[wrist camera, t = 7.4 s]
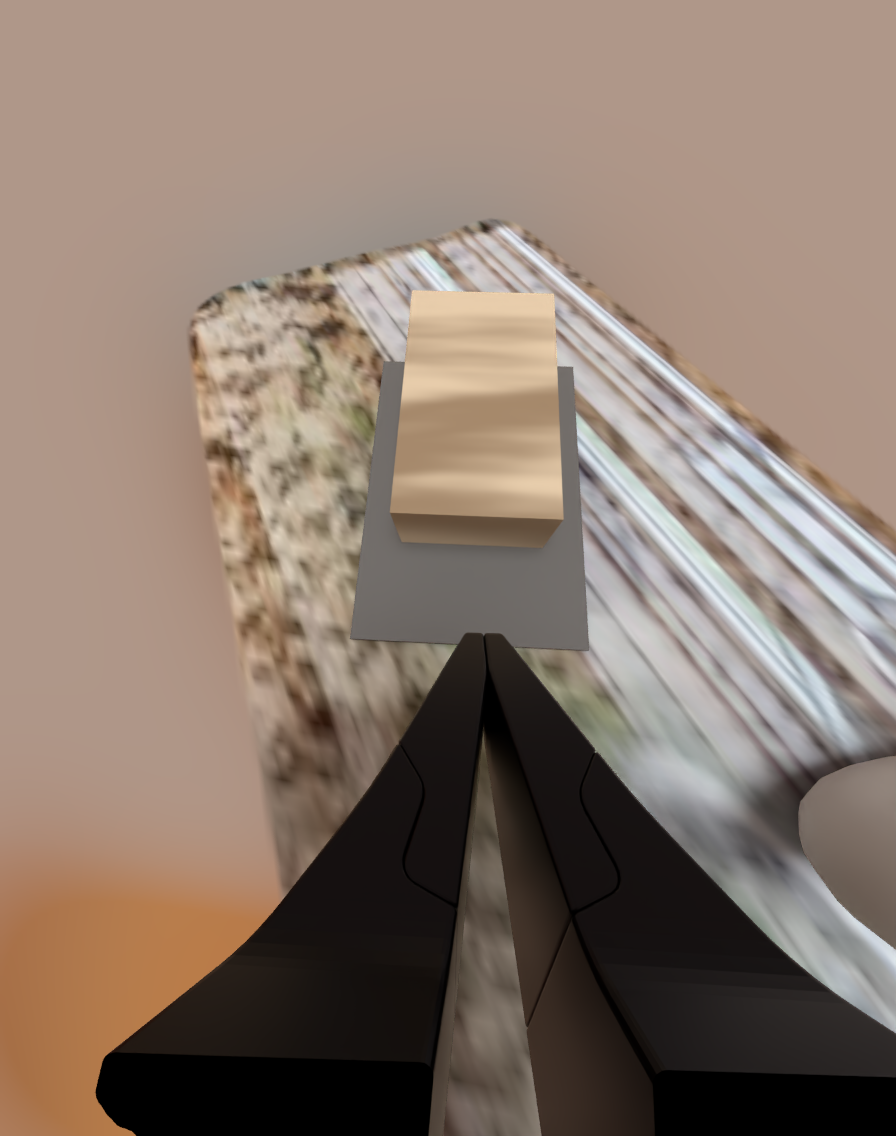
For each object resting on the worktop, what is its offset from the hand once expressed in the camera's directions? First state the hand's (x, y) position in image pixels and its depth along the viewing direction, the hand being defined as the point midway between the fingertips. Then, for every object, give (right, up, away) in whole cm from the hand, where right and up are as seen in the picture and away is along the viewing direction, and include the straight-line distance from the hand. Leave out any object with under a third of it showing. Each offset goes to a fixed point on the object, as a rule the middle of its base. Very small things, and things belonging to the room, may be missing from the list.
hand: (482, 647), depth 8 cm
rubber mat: (+1, +6, +11) cm, 12 cm away
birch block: (0, +3, +8) cm, 9 cm away
